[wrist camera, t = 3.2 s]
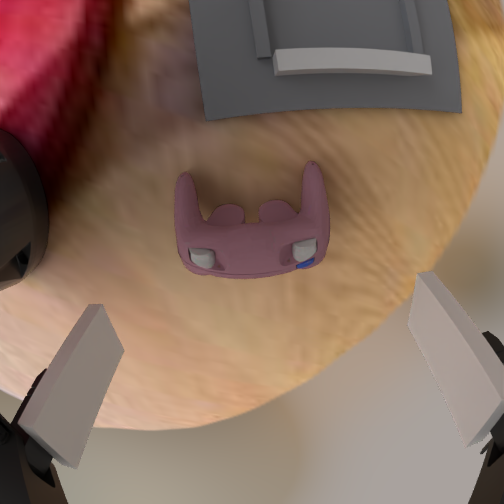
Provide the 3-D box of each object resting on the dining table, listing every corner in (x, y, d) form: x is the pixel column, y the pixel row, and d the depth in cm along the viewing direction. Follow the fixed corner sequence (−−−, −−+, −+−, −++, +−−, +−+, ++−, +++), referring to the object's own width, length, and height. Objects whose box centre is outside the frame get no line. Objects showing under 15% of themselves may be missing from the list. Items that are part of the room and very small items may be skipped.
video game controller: (188, 213, 23) (179, 294, 19) (173, 167, 20) (155, 251, 16) (317, 202, 23) (335, 282, 19) (322, 153, 19) (348, 236, 15)
